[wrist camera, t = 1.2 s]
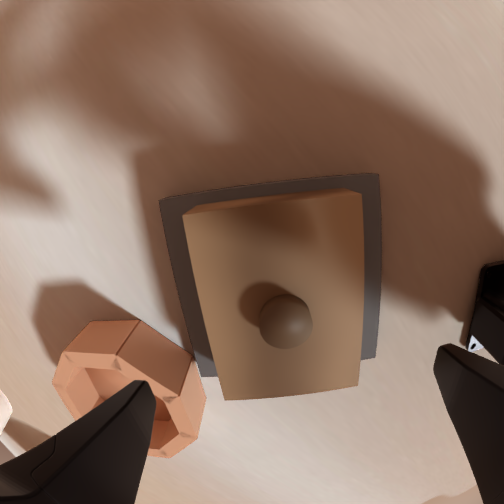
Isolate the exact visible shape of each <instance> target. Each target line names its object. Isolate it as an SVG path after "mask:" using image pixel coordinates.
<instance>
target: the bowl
mask: <svg viewBox="0 0 504 504" xmlns="http://www.w3.org/2000/svg"><path fill="white" fill-rule="evenodd" d="M134 380H146V381H147V382H148V383H149V385H150V387H151V389H152V392H153V394H154V396H155V398H156V411H155V417H154V423H153V429H152V436H151V442H150V446H149V450H148V454H147V455H148V456H155V457H163V458H171V457H172V456H174V455H175V454H177V453H178V452H180V451H181V450H182V449H184V448H185V447H187V446H188V445H189V444H191V443H192V442H194V441H195V440H196V439H197V438H198V433H199V429H200V424H201V420H202V415H203V411H204V407H205V402H206V395H205V392H204V389H203V386H202V383H201V380H200V377H199V374H198V371H197V367H196V364H195V361H194V357H192V355H191V354H190V353H188V352H186V351H185V350H183V349H182V348H180V347H179V346H177V345H176V344H174V343H173V342H171V341H170V340H168V339H167V338H165V337H164V336H162V335H161V334H160V333H158V332H157V331H155V330H154V329H152V328H151V327H150V326H148V325H147V324H145V323H144V322H143V321H140V320H121V321H91V322H90V323H89V324H88V325H87V326H86V327H85V328H84V329H83V330H82V331H81V332H80V333H79V334H78V335H77V336H76V338H75V339H74V340H73V341H72V342H71V343H70V344H69V345H68V346H67V347H66V348H65V350H64V351H63V352H62V354H61V357H60V360H59V363H58V366H57V369H56V372H55V375H54V378H53V381H52V384H53V386H54V387H55V389H56V391H57V392H58V394H59V396H60V397H61V399H62V401H63V402H64V404H65V405H66V407H67V409H68V410H69V412H70V413H71V415H72V416H73V418H74V419H75V421H76V420H78V419H79V418H81V417H82V416H84V415H85V414H87V413H88V412H89V411H91V410H92V409H94V408H95V407H97V406H98V405H100V404H101V403H102V402H104V401H105V400H107V399H108V398H110V397H111V396H112V395H114V394H115V393H117V392H118V391H120V390H121V389H122V388H124V387H125V386H127V385H128V384H129V383H131V382H132V381H134Z"/></svg>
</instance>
